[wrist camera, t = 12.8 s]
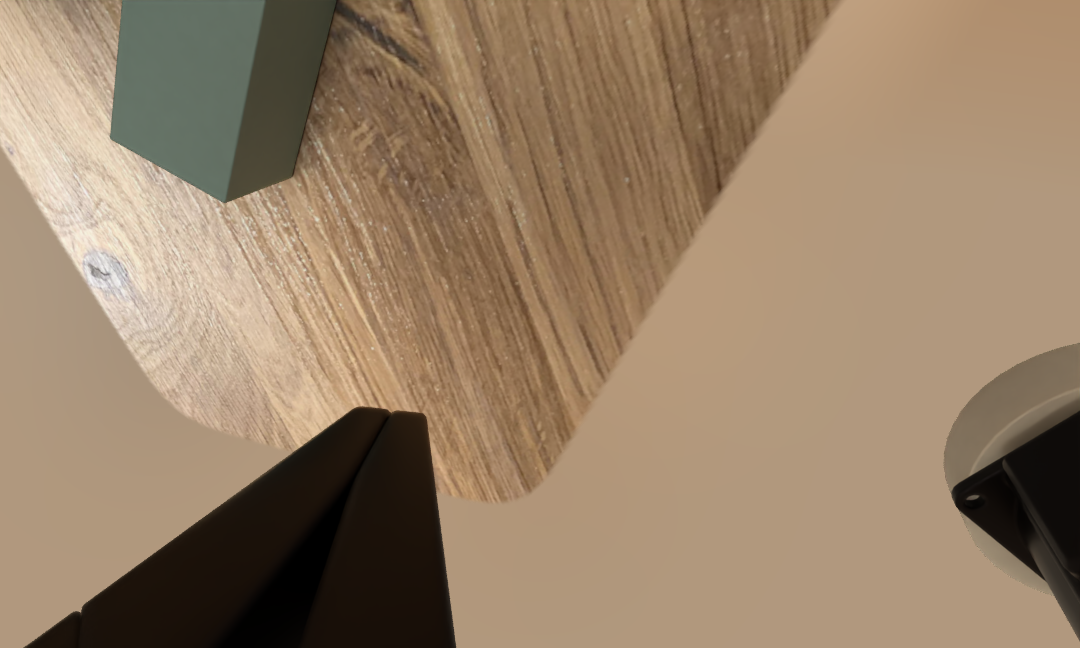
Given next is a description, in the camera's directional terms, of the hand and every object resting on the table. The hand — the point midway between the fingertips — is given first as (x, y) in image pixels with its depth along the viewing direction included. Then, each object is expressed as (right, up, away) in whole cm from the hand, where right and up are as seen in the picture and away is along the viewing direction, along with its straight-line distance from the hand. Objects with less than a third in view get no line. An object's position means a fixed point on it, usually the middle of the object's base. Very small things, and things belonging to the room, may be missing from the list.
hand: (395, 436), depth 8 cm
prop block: (-6, +11, +12) cm, 17 cm away
